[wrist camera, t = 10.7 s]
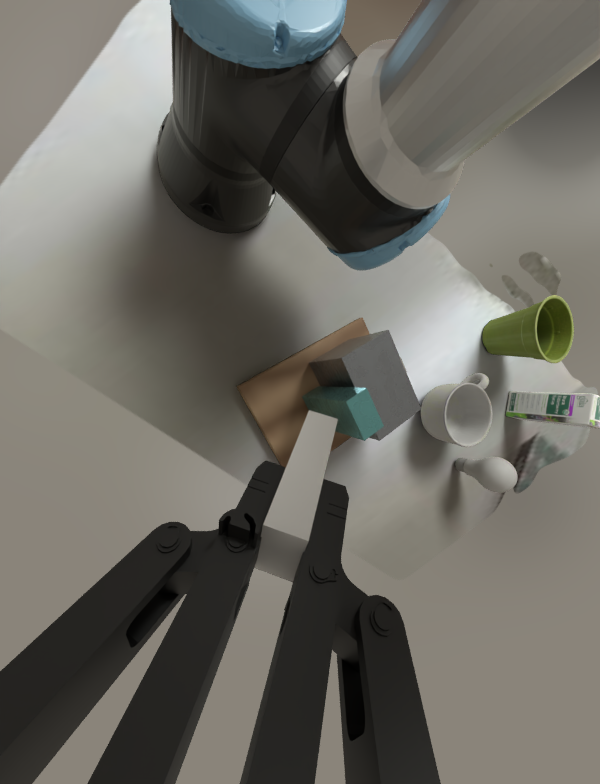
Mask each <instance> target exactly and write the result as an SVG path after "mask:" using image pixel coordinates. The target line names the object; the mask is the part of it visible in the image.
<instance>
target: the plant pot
mask: <svg viewBox="0 0 600 784" xmlns="http://www.w3.org/2000/svg"><path fill="white" fill-rule="evenodd" d="M573 334H574V325H573V318H572V314H571V311H570V309H569V306H568V304H567V303H566V302H565V301H564V300H563V299H562V298H561V297H559V296H556V295H553V296H550V297H547V298H546V299H545V300H543V302H540V303H537V304H535V305H533V306H531V307H529V308H526V309H523V310H520V311H517V312H514V313H511V314H509V315H506V316H503V317H500V318H497V319H494V320H491V321H489V323H488V324H487V325H486V326H485V327H484V330H483V335H482V339H483V344H484V346H485V347H486V349H487V351H488V352H489V353H490V354H494V355H506V356H518V357H531V358H535V359H542V360H546V361H548V362H550V363H557V362H560V361H561V360H563V359H564V358H565V356H566V355H567V354H568V352H569V350H570V348H571V345H572V340H573Z"/></svg>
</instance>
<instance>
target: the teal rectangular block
mask: <svg viewBox="0 0 600 784" xmlns="http://www.w3.org/2000/svg"><path fill="white" fill-rule="evenodd" d="M400 359H401V357H400ZM401 361H402V359H401ZM402 364H403V362H402ZM403 366H404V364H403ZM404 369H405V367H404ZM405 371H406V369H405ZM406 372H407V371H406ZM302 398H303V400H304V402H305V404H306V406H307V408H308V410H310V411H314V412H317V413H320V414H323V415H327V416H330V417H333V418H336V419H338V421H337V425H336V429H335V432H339V433H342V434H345V435H348V436H351V437H355V438H358V439H361V440H364V441H365V440H366V439H367V438H369V437H370V436H372V435H373V434H374V433H376V432H377V431H378V430H380V429H381V428H382V427H384V425H383V423H382V421H381V418H380V416H379V414H378V412H377V410H376V407H375V405H374V403H373V401H372V398H371V396H370V394H369V392H368V390H367V388H355V387H326V386H318V387H316V388H315V389H313V390H311V391H310V392H308V393H306V394H305V395H303V396H302Z"/></svg>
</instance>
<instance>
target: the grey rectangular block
mask: <svg viewBox="0 0 600 784" xmlns="http://www.w3.org/2000/svg"><path fill="white" fill-rule="evenodd" d="M309 364H310V366H311V368H312V370H313V372H314V374H315V376H316V378H317V380H318V382H319V384H320V386H326V387H355V388H367V390H368V392H369V394H370V396H371V398H372V401H373V403H374V405H375V407H376V410H377V412H378V414H379V416H380V418H381V421H382V423H383V425H384V427H382V428H381V429H380V430H378V431H377V432H376V433H374V434H373V435H372V436H370V437H369V438H372V439H376V440H379V441H380V440H381V439H383V438H384V437H385V436H386V435H388V434H389V433H390V432H392V431H393V430H394V429H396V428H397V427H398V426H400V425H401V424H402V423H404V422H405V421H406V420H408V419H409V418H410V417H411V416H413V415H414V414H415V413H417V412H418V411H419V410H421V407H420V405H419V402H418V400H417V397H416V395H415V393H414V390H413V388H412V385H411V383H410V381H409V378H408V376H407V373H406V371H405V369H404V366H403V364H402V361H401V359H400V356H399V354H398V352H397V349H396V347H395V344H394V342H393V340H392V337H391V335H390V332H389V330H386V331H382V332H378V333H373V334H369V335H365V336H361V337H357V338H353V339H349V340H347V341H345V342H344V343H342V344H340V345H338V346H337V347H335V348H333V349H331V350H330V351H328V352H326V353H325V354H323V355H321V356H319V357H318V358H316V359H314V360H312V361H311V362H309Z"/></svg>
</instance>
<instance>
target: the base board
mask: <svg viewBox="0 0 600 784" xmlns="http://www.w3.org/2000/svg"><path fill="white" fill-rule="evenodd" d="M365 335H369V332H368V329H367V327H366V325H365V322H364V320H363V318H359V319H357V320H355V321H353V322H351V323H350V324H348V325H346V326H344V327H342V328H341V329H339V330H337V331H335V332H333V333H332V334H330V335H328V336H326V337H324V338H323V339H321V340H319V341H317V342H315V343H314V344H312V345H310V346H308V347H306V348H305V349H303V350H301V351H299V352H297V353H296V354H294V355H292V356H290V357H288V358H287V359H285V360H283V361H281V362H280V363H278V364H276V365H274V366H272V367H271V368H269V369H267V370H265V371H263V372H262V373H260V374H258V375H256V376H254V377H253V378H251V379H249V380H247V381H245V382H244V383H242V384H240V385H238V386H236V387H237V389H238V390H239V392H240V394H241V396H242V398H243V399H244V401H245V403H246V405H247V406H248V408H249V410H250V412H251V413H252V415H253V417H254V419H255V421H256V422H257V424H258V426H259V428H260V429H261V431H262V433H263V435H264V437H265V438H266V440H267V442H268V444H269V445H270V447H271V449H272V451H273V453H274V454H275V456H276V458H277V460H278V461H279V463H280V465H281V466H283V467H286V466H287V464H288V461H289V459H290V456H291V454H292V451H293V449H294V446H295V444H296V441H297V439H298V436H299V434H300V431H301V429H302V426H303V424H304V421H305V419H306V416H307V414H308V411H309V410H308V408H307V406H306V404H305V402H304V400H303V398H302V396H303V395H305V394H306V393H308V392H310V391H311V390H313V389H315V388H316V387H318V386H320V384H319V382H318V380H317V378H316V376H315V374H314V372H313V370H312V368H311V366H310V364H309V362H311V361H312V360H314V359H316V358H318V357H319V356H321V355H323V354H325V353H326V352H328V351H330V350H331V349H333V348H335V347H337V346H338V345H340V344H342V343H344V342H345V341H347V340H349V339H353V338H357V337H361V336H365ZM349 438H351V436H348V435H345V434H342V433H339V432H335V434H334V438H333V442H332V446H331V450H330V452H331V451H333V450H334V449H335V448H337V447H338V446H339V445H341V444H342V443H344V442H345V441H346V440H348V439H349Z"/></svg>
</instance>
